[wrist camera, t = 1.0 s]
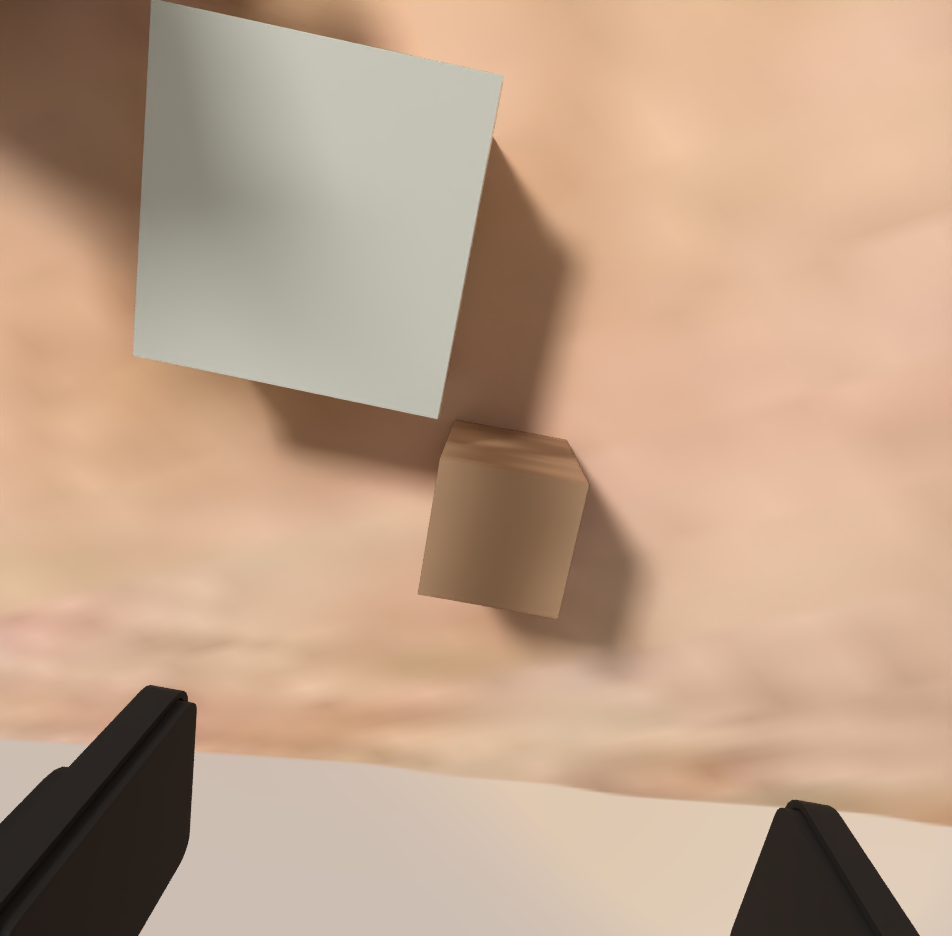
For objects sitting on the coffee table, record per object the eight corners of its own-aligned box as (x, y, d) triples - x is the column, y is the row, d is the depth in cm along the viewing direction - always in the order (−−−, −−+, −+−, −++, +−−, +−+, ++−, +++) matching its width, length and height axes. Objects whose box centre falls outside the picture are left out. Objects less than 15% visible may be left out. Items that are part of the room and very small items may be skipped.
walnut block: (566, 439, 27) (589, 484, 20) (543, 543, 28) (557, 618, 21) (454, 419, 27) (439, 458, 20) (437, 524, 28) (417, 594, 21)
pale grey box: (502, 131, 24) (503, 75, 18) (451, 394, 26) (437, 419, 21) (236, 73, 24) (151, -2, 18) (213, 344, 26) (132, 355, 21)
